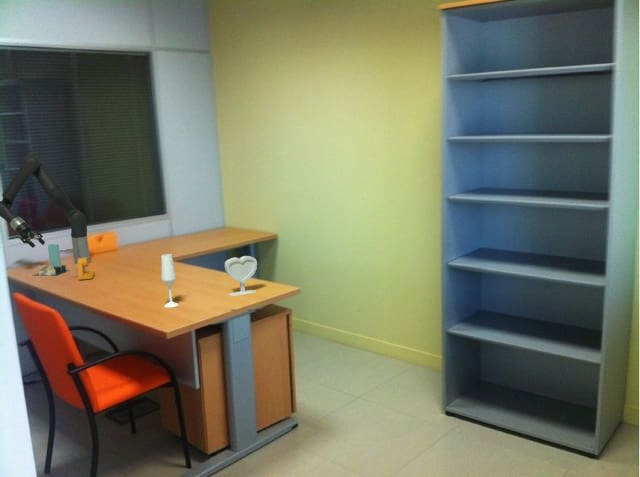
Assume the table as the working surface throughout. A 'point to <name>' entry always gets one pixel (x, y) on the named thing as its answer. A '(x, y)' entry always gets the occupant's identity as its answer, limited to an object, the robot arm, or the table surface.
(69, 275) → the table surface
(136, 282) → the table surface
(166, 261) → the champagne flute
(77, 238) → the robot arm
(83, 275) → the bracket
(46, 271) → the block
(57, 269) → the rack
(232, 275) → the heart sculpture
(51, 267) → the offcut top
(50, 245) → the teal rectangular slab
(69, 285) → the table surface
